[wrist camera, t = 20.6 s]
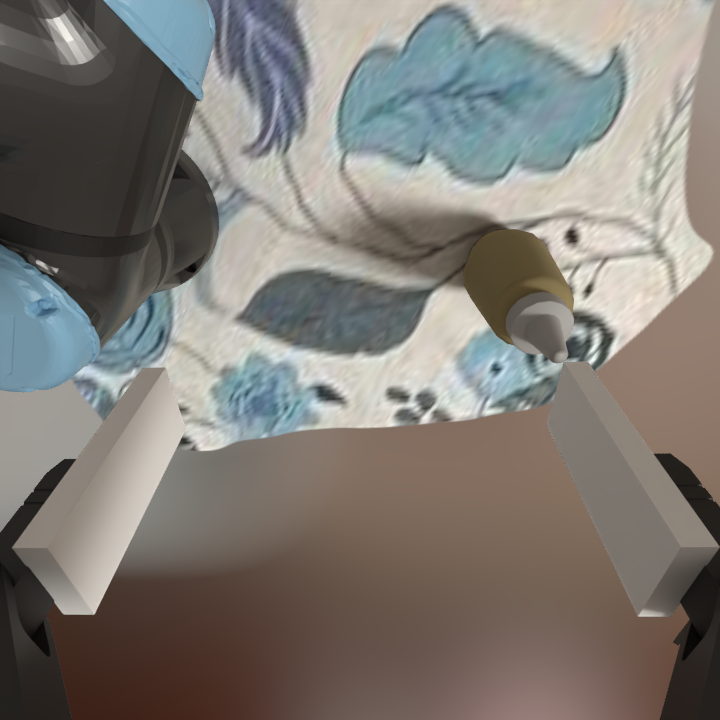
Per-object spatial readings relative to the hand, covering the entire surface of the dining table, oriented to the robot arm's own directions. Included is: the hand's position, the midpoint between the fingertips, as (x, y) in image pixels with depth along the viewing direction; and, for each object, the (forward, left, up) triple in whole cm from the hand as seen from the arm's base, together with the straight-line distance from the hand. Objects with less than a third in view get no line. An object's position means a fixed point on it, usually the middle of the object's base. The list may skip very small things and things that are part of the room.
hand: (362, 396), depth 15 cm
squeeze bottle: (+13, -7, -32) cm, 35 cm away
